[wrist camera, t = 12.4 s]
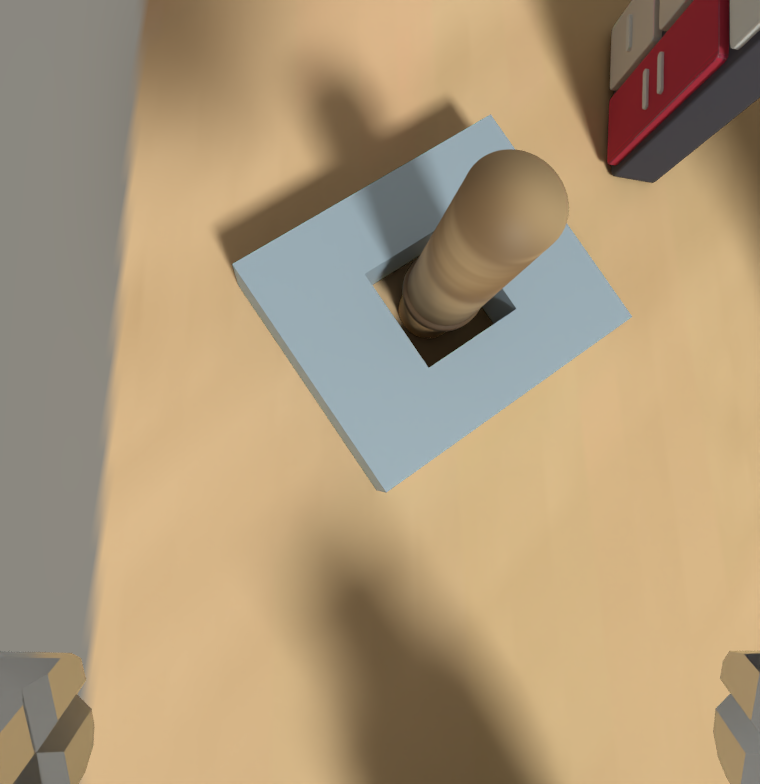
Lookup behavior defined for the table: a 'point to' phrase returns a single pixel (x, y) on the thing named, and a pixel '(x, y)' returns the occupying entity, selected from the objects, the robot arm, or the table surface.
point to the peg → (483, 240)
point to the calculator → (678, 79)
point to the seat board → (385, 336)
